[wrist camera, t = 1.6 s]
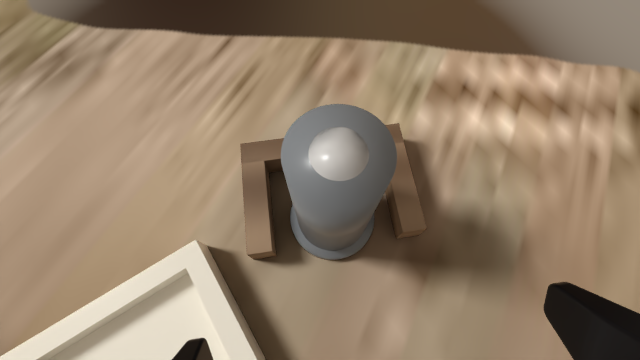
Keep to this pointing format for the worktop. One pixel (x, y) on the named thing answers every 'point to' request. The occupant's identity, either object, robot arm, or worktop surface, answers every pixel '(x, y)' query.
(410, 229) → the socket
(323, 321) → the worktop surface
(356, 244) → the grey rounded upright piece
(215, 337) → the dish
